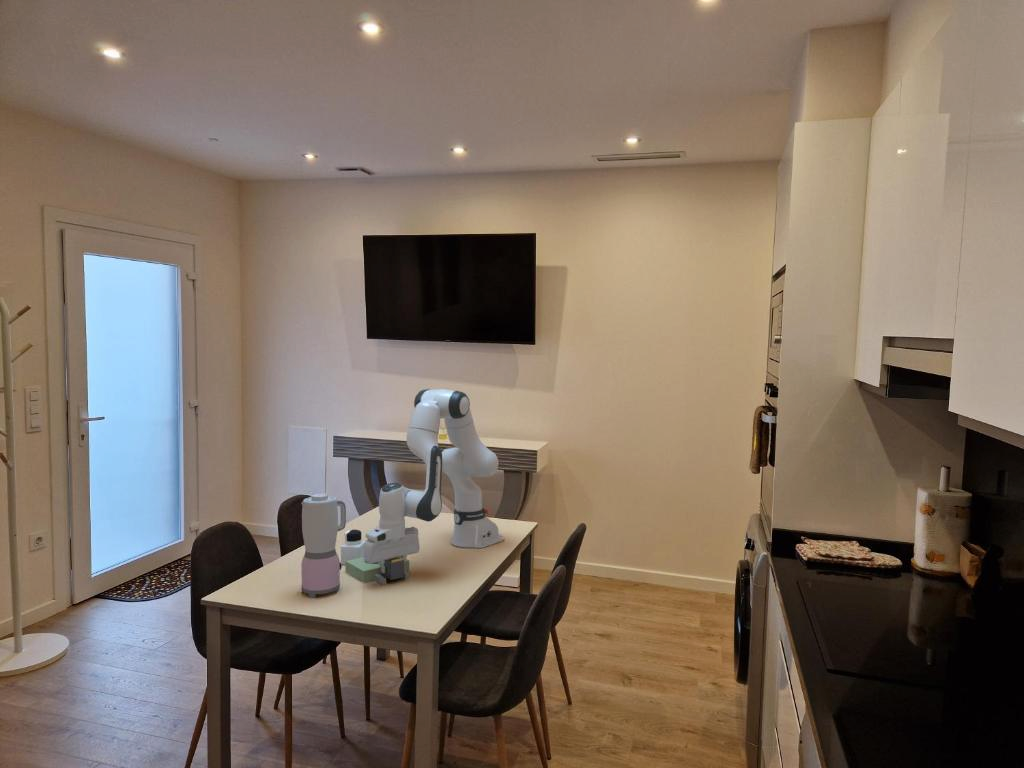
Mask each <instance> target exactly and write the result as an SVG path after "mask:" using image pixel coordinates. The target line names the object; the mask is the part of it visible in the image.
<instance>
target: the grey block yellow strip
mask: <svg viewBox="0 0 1024 768" xmlns="http://www.w3.org/2000/svg"><path fill="white" fill-rule="evenodd" d="M383 565H384V566H386V567H387V572H385V573H382V572H381V575H383V576H385V578H386V579H389V580H390V581H394V580H397V579H401V578H402V577H404V560H403V558H399V557H397V558H393V559H388V560H385V563H383ZM402 579H403V578H402Z"/></svg>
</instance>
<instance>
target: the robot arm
mask: <svg viewBox="0 0 1024 768" xmlns="http://www.w3.org/2000/svg"><path fill="white" fill-rule="evenodd" d="M470 403H471V402H470V399H469V397H468V395H467V394H466V393H465V392H464V391H463V392H462V391H460V390H451V389H445V388H442V389H429V388H428V389H421V390H419V391H418V393H417V394H416V395H415V397H414V400H413V404H414V405H413V407H414V410H413V412H412V415H411V417H410V419H409V425H408V429H407V434H406V445H407V447H408V449H409V450H410V452H411V453H413V455H415V456H416V457H418V458H419V459H421V460H422V461H423V462H424V464H425V467H426V473H425V474H426V475H425V489H424V491H423V490H416V489H413V488H408V487H405V486H403V484H402V483H400V482H390V483H386V484H385V485H382V487H381V488H380V492H379V498H378V513H379V516H380V517H379V521H378V525H376V527H374V528H372V529H370V530H368V531H366V532H365V538H366V541H365V545H364V560H365V561H366V562H368V563H370V564H371V563H375V562H378V563H379V565H380V567H381V572H382V573H385V572H387V567H386V566H384V565H383V563H385V560H388V559H393V558H397V557H401V558H403V560H404V562H405V560H406V559H408V557H407V556H409V555H413V554H418V553H419V551H420V540H419V528H417V527H415V526H411V527H406V519H405V517H408V518H414V519H419V520H421V521H424V522H427V523H428V522H432V521H433V520H435V519H436V518H438V517H439V515H440V514H441V511H442V510H443V509H442V507H443V500H442V479H443V478H442V477H443V472H444V473H445V474H446V475H447V476H448V478H449V480H450V482H451V484H452V487H453V490H454V491H453V492H454V510H453V522H454V526H453V534H452V538H451V542H450V543H451V544H452V545H453V546H455V547H459V548H476V549H484V548H486V547H488V546H492V545H494V544H498V543H500V542H503V541H505V537H504V536H503V535H501V534H500V532H499V527H498V525H497V524H496V523H495V522H493V521H492V520H491V519H490V518H489V517H487V516H486V515H489V514H490V513H491V510H490V509H489V508H484V507H483V491H482V489H481V487H480V486H479V485H478V484H476V483H475V482H474V481H473V479H472V477H478V478H479V477H481V478H483V477H492V476H494V474H495V473H497V470H498V468H499V459H498V456H497V455H496V453H495V452H493V451H492V450H490V449H489V448H488V447H486V445H485V444H484V443H483V441H482V440H481V438H479V435H478V433H477V430H476V426H475V423H474V419H473V415H472V411H471V404H470ZM441 419H444V425H445V427H446V428H445V429H446V433H447V437H448V440H449V442H450V443H451V444H452V445H453V446H454V447H451V448H445V449H443V450H442V449H441V448H440V447H439V440H438V439H439V432H440V426H441Z"/></svg>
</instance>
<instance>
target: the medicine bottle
mask: <svg viewBox="0 0 1024 768" xmlns="http://www.w3.org/2000/svg"><path fill="white" fill-rule="evenodd" d="M365 542H366V541H364V540H362V531H361V530H360V529H349V530H346V531H345V532H344V543H343V544H342V545H341V546H340V563H341V565H342V566H345V561H348V560H352V559H357V558H361V557H364V545H365Z"/></svg>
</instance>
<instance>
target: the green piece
mask: <svg viewBox="0 0 1024 768" xmlns="http://www.w3.org/2000/svg"><path fill="white" fill-rule="evenodd" d="M399 558H401V557H399ZM344 566H345V573H347V574H348V575H350V576H352V577H353V578H355V579H356V580H359V582H362V583H363V584H364V583H368V582H372V581H374V582H376V583H378V584H379V585H380V586H384V585H387V577H385V576H383V575H381V567H380V565H379V563H378V562H375V563H371V564H370V563H368V562H366V561H365V560H364V557H361V558H357V559H352V560H348V561H345V565H344ZM402 579H404V580H408V579H410V560H409V559H408V558H406V560H405V562H404V577H402Z"/></svg>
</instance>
